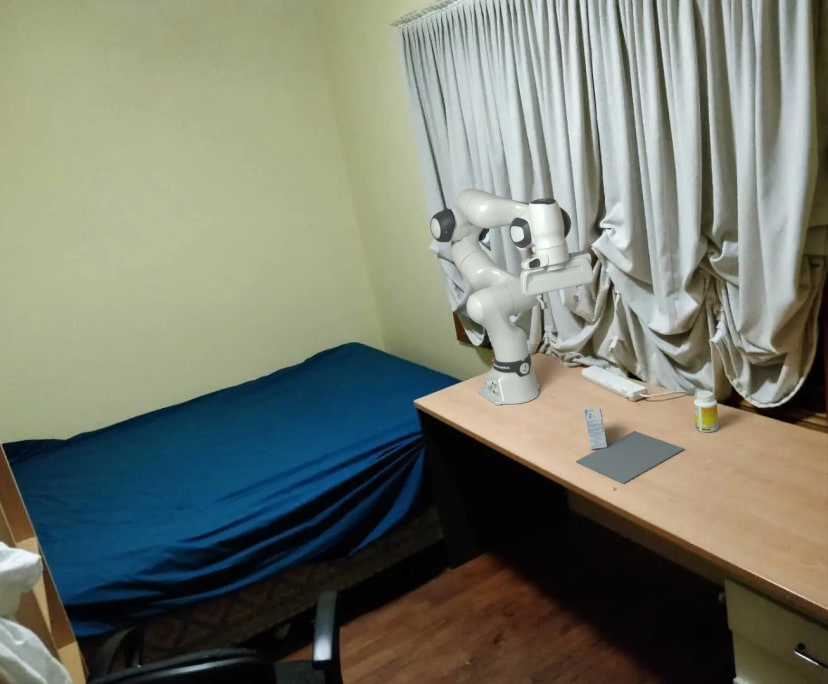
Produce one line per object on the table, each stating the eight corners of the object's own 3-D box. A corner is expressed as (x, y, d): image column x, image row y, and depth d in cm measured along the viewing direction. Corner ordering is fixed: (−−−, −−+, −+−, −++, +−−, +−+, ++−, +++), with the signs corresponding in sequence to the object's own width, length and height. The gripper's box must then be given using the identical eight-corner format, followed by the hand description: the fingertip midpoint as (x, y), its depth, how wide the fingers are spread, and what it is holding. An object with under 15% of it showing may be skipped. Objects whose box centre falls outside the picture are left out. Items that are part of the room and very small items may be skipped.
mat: (576, 462, 165) (575, 461, 165) (634, 432, 175) (634, 430, 175) (623, 484, 152) (623, 482, 152) (684, 450, 161) (684, 448, 161)
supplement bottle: (723, 427, 168) (721, 392, 165) (709, 435, 166) (707, 399, 163) (704, 422, 173) (702, 387, 170) (690, 429, 171) (688, 394, 168)
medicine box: (607, 448, 168) (603, 418, 166) (590, 450, 170) (585, 420, 167) (604, 435, 176) (600, 406, 174) (588, 437, 177) (584, 408, 175)
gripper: (586, 248, 179) (594, 296, 181) (515, 263, 179) (524, 311, 182) (592, 249, 173) (600, 298, 175) (519, 265, 173) (528, 314, 176)
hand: (561, 305), depth 179 cm, fingers open, 8 cm apart
